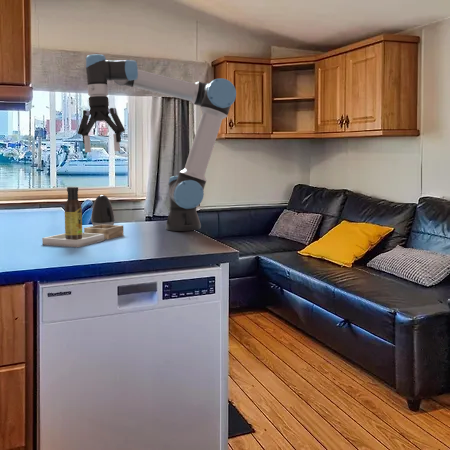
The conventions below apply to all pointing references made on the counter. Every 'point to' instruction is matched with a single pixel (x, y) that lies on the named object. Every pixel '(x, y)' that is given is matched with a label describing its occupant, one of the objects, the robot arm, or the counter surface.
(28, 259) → the counter surface
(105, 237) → the oak holder
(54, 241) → the grey tray
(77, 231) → the sauce bottle
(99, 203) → the black bullet shaped dome
